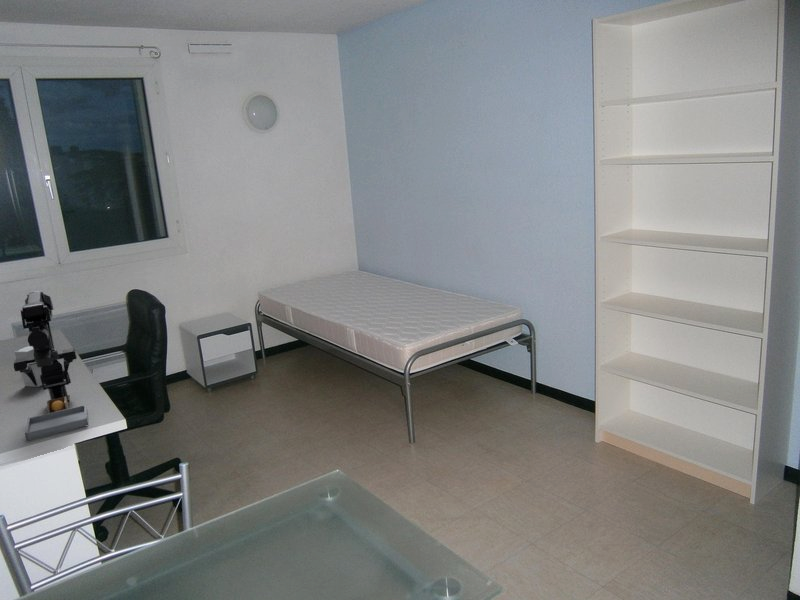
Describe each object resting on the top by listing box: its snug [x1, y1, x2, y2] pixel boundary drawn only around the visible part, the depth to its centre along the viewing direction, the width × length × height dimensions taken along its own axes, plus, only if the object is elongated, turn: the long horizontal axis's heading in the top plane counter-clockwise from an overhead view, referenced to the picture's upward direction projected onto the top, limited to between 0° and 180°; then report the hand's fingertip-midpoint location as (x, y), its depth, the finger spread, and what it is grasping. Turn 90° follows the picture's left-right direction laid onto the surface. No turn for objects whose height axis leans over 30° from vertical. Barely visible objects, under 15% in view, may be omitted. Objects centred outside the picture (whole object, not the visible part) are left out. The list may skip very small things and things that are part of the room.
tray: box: [24, 404, 89, 441], centre depth 208 cm, size 15×18×2 cm
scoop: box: [46, 397, 70, 414], centre depth 218 cm, size 7×6×4 cm
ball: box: [51, 401, 64, 412], centre depth 219 cm, size 4×4×4 cm
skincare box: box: [13, 345, 43, 388], centre depth 251 cm, size 8×7×16 cm
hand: (51, 382), depth 214 cm, fingers open, 9 cm apart
